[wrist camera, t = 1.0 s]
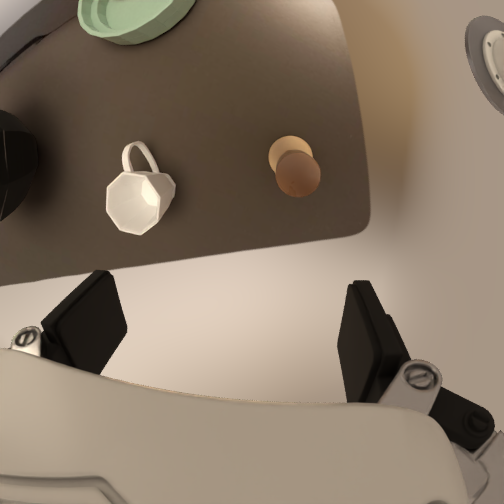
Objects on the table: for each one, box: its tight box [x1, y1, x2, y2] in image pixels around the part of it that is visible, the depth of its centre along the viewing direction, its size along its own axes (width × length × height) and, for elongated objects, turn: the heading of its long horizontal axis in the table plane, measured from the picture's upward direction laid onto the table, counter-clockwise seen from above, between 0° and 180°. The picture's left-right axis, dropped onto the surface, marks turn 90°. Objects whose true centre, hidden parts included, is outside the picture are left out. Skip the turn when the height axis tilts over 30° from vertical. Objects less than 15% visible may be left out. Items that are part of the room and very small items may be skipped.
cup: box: [106, 141, 176, 235], centre depth 31 cm, size 7×10×8 cm
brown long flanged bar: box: [269, 136, 321, 197], centre depth 25 cm, size 5×5×15 cm
